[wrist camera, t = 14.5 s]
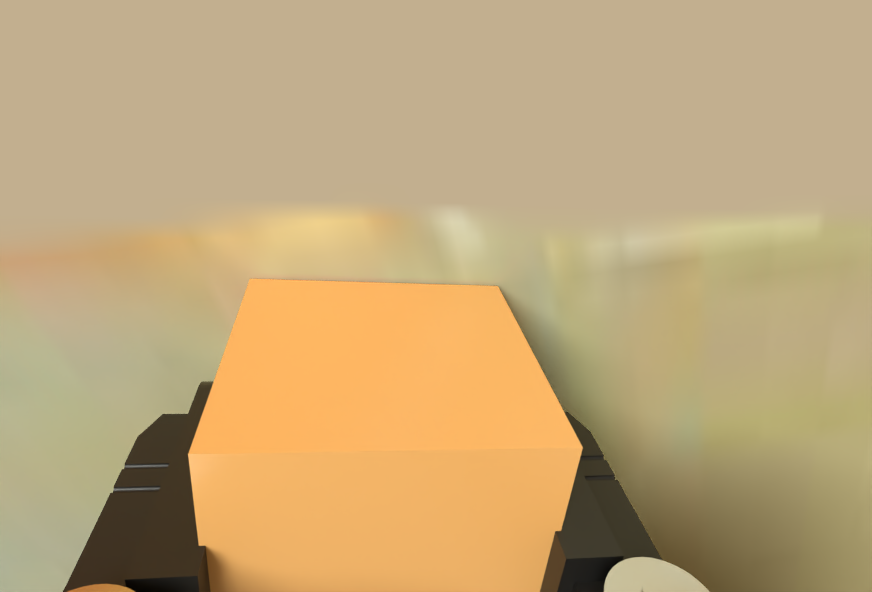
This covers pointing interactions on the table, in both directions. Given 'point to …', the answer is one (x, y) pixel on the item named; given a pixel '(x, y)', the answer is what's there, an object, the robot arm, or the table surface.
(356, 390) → the plug
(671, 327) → the table surface
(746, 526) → the table surface
